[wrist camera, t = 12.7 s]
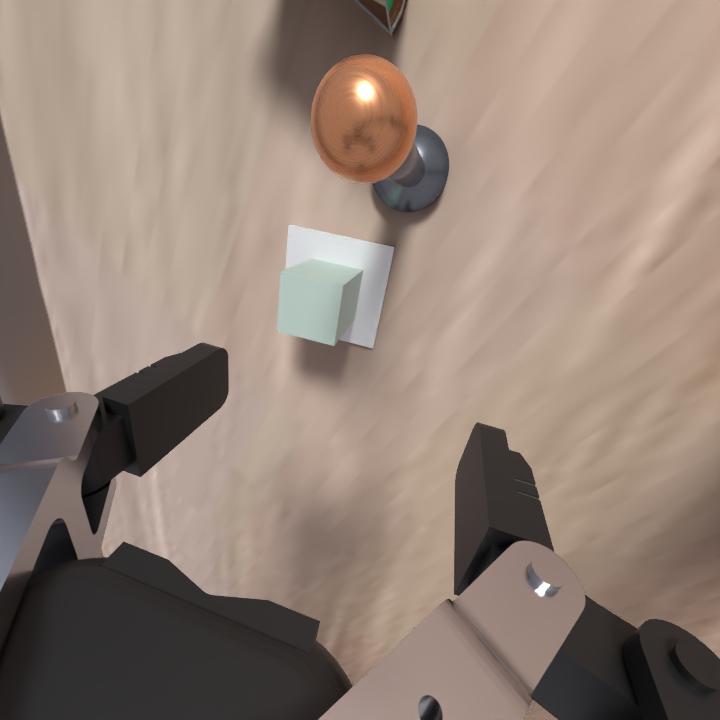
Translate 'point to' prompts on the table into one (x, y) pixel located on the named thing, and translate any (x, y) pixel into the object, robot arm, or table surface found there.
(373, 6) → the food container
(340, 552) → the table surface
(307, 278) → the green block
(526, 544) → the robot arm
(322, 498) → the table surface
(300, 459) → the table surface
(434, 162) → the metal post
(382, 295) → the pad
